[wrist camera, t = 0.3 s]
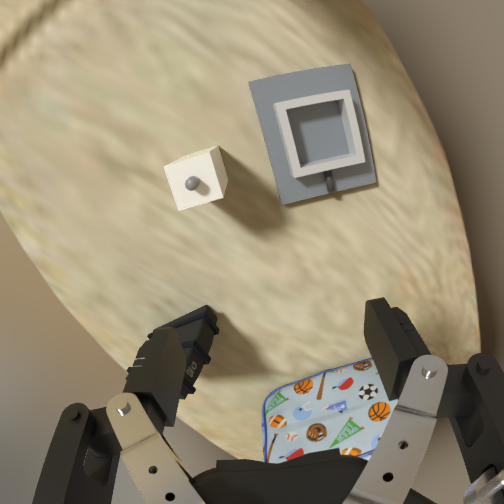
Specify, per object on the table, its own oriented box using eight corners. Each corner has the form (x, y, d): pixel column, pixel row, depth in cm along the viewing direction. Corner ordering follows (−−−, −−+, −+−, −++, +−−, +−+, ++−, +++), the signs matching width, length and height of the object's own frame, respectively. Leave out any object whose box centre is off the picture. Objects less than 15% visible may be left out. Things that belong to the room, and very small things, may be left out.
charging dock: (248, 83, 33) (248, 78, 30) (347, 65, 32) (357, 60, 29) (281, 202, 39) (284, 210, 36) (372, 180, 38) (384, 186, 35)
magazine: (237, 317, 44) (189, 401, 33) (179, 324, 52) (132, 391, 40) (223, 298, 43) (169, 383, 32) (166, 309, 50) (116, 375, 39)
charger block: (183, 156, 37) (160, 168, 26) (218, 145, 36) (207, 153, 26) (194, 189, 38) (176, 214, 28) (228, 179, 38) (222, 200, 28)
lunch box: (269, 418, 57) (277, 510, 37) (249, 391, 53) (252, 495, 33) (394, 372, 53) (435, 458, 33) (388, 338, 50) (439, 433, 29)
